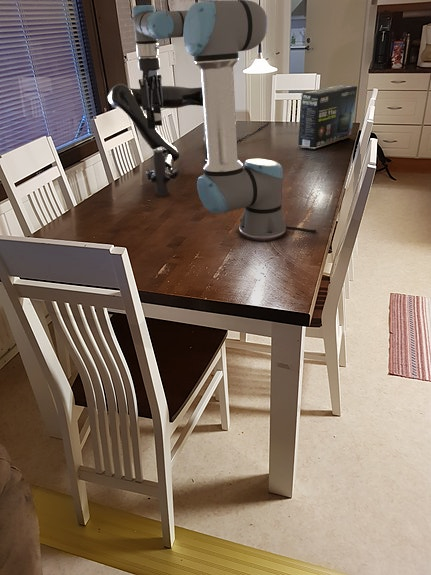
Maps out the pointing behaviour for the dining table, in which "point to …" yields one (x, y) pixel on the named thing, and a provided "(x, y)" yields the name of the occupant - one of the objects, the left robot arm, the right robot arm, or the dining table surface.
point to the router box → (326, 115)
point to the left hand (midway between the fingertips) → (160, 180)
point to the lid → (157, 116)
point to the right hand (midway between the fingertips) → (155, 126)
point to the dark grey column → (160, 173)
